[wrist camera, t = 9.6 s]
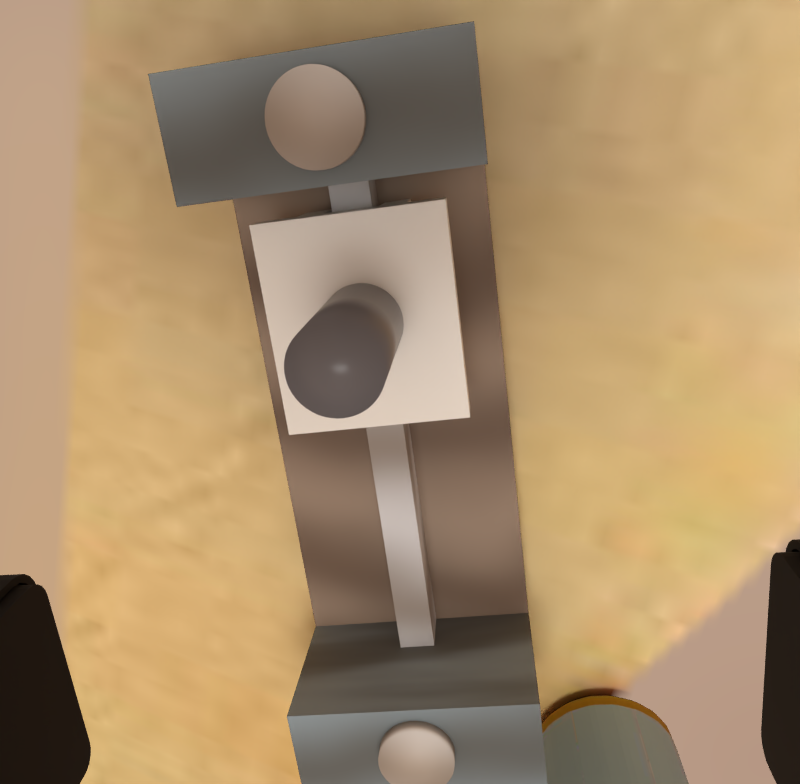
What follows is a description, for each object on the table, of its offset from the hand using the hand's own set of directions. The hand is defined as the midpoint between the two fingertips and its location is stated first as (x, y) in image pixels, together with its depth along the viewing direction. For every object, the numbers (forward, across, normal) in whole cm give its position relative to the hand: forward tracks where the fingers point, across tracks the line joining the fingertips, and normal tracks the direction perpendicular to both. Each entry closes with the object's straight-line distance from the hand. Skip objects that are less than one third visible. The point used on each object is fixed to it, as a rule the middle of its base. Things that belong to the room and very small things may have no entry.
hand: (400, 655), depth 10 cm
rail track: (+24, +3, +5) cm, 24 cm away
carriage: (+22, +3, 0) cm, 22 cm away
